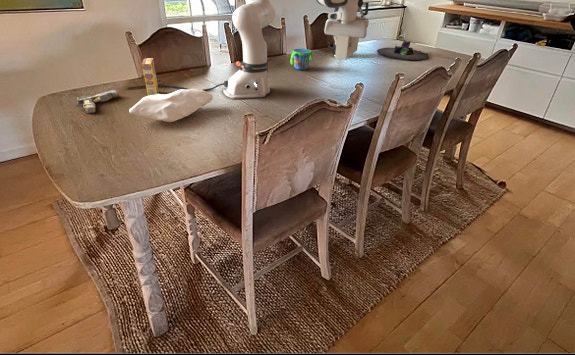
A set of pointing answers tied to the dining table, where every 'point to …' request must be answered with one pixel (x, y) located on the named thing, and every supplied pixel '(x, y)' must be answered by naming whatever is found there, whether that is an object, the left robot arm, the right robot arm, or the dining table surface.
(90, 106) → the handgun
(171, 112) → the crumpled cloth
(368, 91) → the dining table surface
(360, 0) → the right robot arm
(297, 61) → the snack cup
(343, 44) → the box
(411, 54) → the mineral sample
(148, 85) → the candy box
